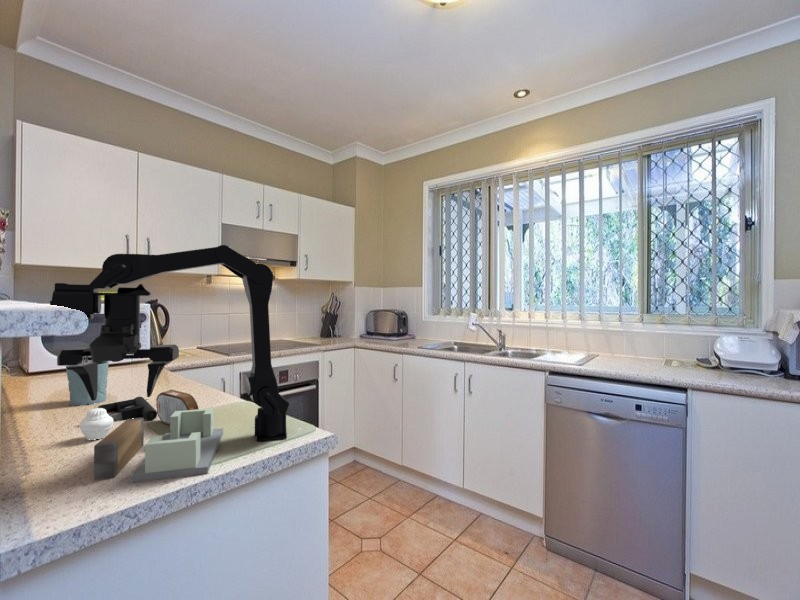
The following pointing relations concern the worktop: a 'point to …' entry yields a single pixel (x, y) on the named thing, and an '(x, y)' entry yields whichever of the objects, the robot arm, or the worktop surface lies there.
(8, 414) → the worktop surface
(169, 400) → the tin
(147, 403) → the door handle
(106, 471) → the rail
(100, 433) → the muffin
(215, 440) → the post frame
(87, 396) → the teal plant pot
